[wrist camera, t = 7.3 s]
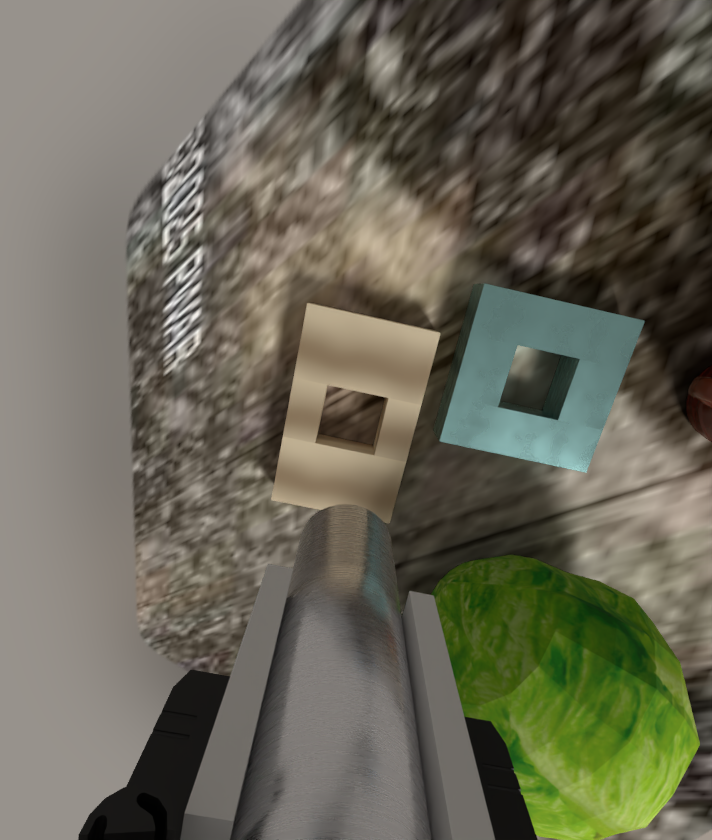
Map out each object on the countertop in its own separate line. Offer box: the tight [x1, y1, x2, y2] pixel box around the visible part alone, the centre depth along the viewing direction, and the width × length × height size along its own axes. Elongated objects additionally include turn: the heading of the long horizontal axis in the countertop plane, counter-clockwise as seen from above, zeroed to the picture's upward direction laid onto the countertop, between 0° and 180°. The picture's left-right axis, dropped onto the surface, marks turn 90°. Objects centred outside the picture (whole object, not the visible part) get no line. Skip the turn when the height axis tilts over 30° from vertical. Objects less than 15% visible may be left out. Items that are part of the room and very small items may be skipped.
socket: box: [433, 283, 645, 472], centre depth 35 cm, size 12×12×3 cm
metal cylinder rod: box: [231, 504, 431, 840], centre depth 11 cm, size 4×4×14 cm
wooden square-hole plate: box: [271, 302, 441, 524], centre depth 36 cm, size 16×10×2 cm, turn 168°
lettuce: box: [431, 555, 700, 840], centre depth 34 cm, size 19×25×17 cm
